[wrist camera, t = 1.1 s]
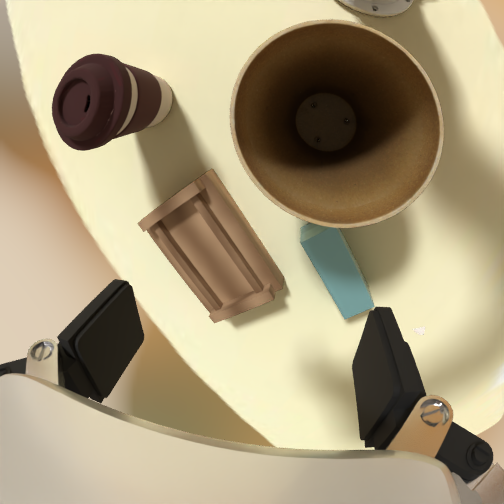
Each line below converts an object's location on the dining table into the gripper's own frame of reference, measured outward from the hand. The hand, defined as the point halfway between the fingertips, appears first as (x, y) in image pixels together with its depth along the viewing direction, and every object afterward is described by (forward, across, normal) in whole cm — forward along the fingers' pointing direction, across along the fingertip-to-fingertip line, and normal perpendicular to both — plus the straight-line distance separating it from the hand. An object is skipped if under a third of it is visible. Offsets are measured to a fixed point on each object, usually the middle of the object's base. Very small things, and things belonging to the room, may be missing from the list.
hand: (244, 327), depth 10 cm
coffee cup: (+27, +18, -12) cm, 34 cm away
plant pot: (+26, -5, -8) cm, 28 cm away
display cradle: (+27, +9, +9) cm, 30 cm away
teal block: (+27, -8, +10) cm, 30 cm away
